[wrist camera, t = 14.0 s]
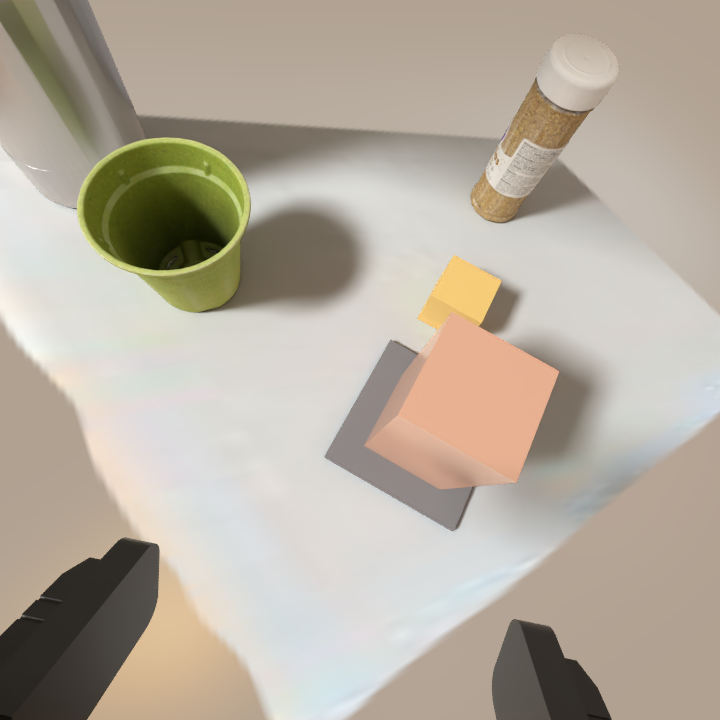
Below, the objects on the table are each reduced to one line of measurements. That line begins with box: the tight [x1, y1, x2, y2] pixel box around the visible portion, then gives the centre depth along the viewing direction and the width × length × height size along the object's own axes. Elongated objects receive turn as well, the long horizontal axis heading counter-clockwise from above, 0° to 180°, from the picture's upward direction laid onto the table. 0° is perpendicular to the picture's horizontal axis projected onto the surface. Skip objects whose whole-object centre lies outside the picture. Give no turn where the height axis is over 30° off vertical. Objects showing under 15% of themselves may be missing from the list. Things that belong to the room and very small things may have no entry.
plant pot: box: [77, 137, 251, 312], centre depth 28 cm, size 9×9×9 cm
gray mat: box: [325, 340, 472, 531], centre depth 30 cm, size 10×10×1 cm
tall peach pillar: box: [364, 312, 559, 490], centre depth 25 cm, size 6×6×11 cm
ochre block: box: [417, 255, 502, 330], centre depth 32 cm, size 4×4×4 cm
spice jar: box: [471, 34, 619, 222], centre depth 32 cm, size 5×5×14 cm
